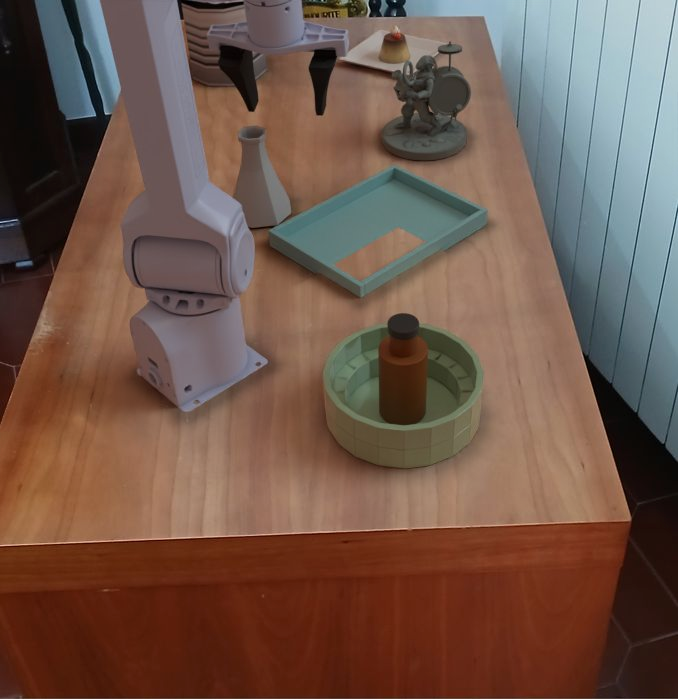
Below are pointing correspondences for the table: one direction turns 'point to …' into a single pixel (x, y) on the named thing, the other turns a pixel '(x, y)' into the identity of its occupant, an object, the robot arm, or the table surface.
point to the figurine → (425, 126)
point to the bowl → (441, 400)
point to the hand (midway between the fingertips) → (287, 108)
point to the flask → (259, 182)
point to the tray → (377, 225)
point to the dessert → (391, 51)
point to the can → (199, 14)
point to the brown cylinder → (402, 372)
